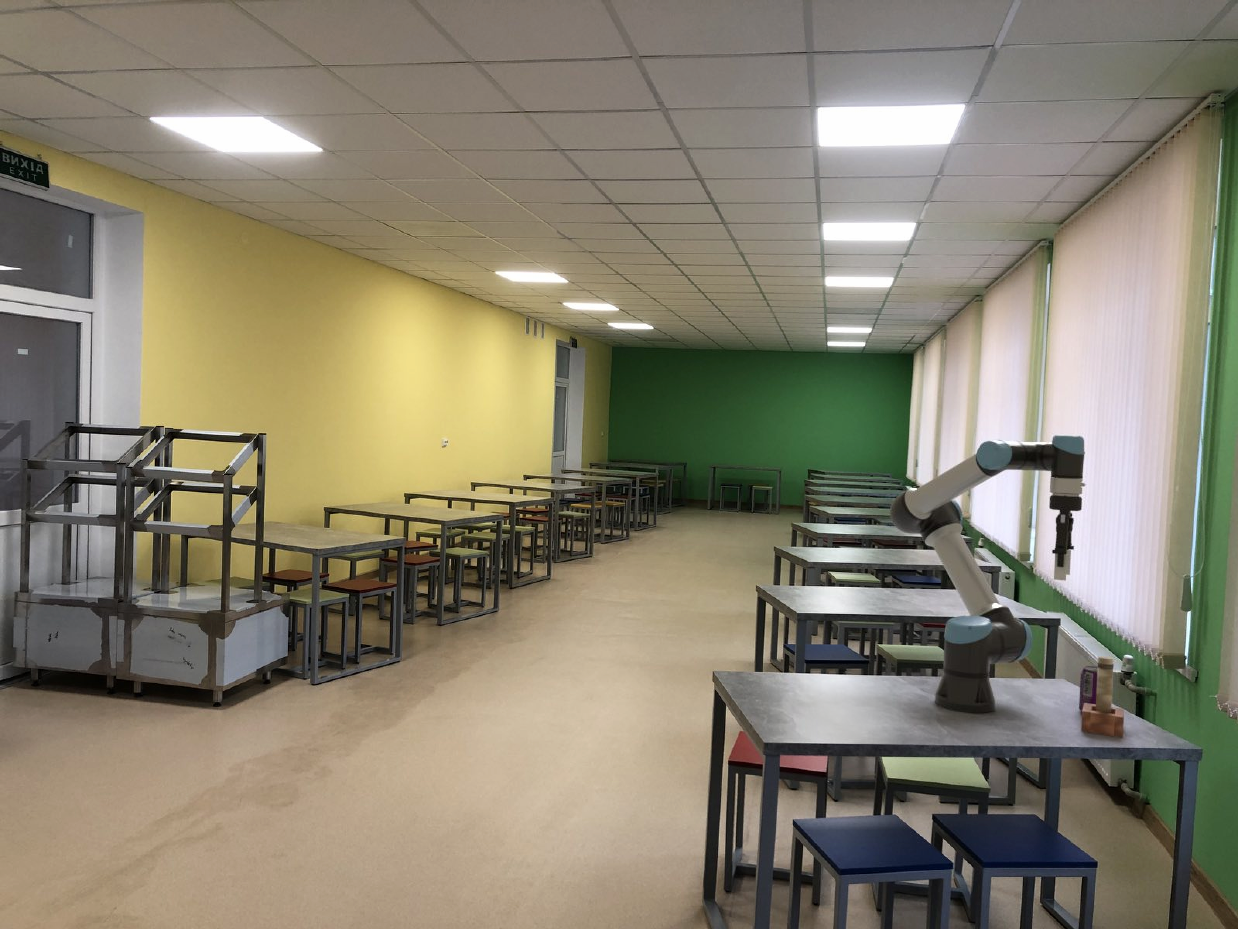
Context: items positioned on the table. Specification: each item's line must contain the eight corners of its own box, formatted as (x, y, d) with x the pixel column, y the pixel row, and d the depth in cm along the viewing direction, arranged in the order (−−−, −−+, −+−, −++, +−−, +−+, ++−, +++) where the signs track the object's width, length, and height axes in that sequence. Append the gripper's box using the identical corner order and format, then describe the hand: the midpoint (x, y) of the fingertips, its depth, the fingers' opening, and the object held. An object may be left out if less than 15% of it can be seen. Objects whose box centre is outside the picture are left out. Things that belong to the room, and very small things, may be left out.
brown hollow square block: (1081, 731, 229) (1082, 711, 228) (1083, 722, 236) (1084, 702, 236) (1122, 738, 224) (1123, 717, 224) (1123, 728, 232) (1124, 709, 232)
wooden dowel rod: (1094, 730, 230) (1097, 658, 229) (1094, 726, 233) (1098, 655, 232) (1110, 733, 228) (1113, 660, 227) (1110, 729, 231) (1114, 657, 230)
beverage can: (1112, 718, 241) (1114, 673, 240) (1083, 716, 242) (1085, 670, 242) (1104, 711, 248) (1106, 666, 247) (1075, 708, 249) (1077, 664, 249)
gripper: (1079, 497, 225) (1074, 584, 226) (1085, 494, 247) (1081, 573, 247) (1045, 495, 229) (1041, 580, 229) (1054, 492, 250) (1050, 570, 251)
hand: (1062, 577), depth 238 cm, fingers open, 13 cm apart
